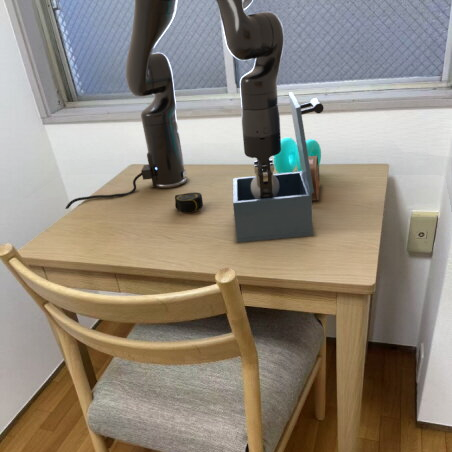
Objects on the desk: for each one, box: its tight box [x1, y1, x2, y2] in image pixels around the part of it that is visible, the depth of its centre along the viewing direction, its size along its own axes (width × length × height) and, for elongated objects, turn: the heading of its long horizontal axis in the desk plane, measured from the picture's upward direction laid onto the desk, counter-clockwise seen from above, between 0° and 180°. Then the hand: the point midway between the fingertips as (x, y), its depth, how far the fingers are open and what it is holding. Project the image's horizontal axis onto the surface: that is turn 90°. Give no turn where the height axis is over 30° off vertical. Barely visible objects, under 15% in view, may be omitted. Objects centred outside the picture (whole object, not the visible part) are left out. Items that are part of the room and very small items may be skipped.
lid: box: [287, 91, 325, 193], centre depth 96 cm, size 17×15×5 cm
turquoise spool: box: [273, 136, 322, 174], centre depth 127 cm, size 10×10×10 cm
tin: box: [308, 155, 321, 201], centre depth 116 cm, size 15×3×8 cm, turn 168°
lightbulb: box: [251, 175, 279, 199], centre depth 103 cm, size 6×6×11 cm
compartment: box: [232, 171, 313, 243], centre depth 104 cm, size 16×15×9 cm
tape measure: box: [174, 192, 204, 214], centre depth 117 cm, size 7×7×4 cm
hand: (266, 208), depth 104 cm, fingers closed on lightbulb, 6 cm apart
